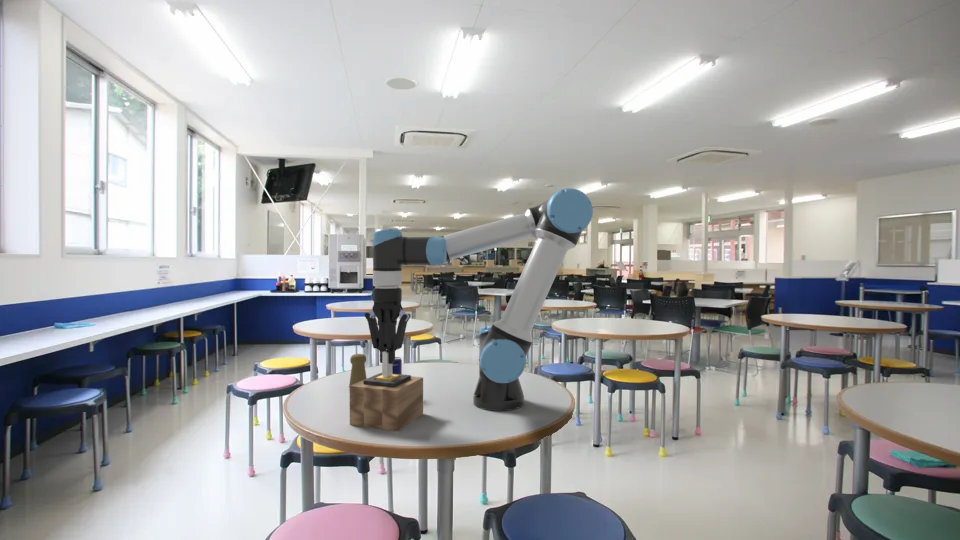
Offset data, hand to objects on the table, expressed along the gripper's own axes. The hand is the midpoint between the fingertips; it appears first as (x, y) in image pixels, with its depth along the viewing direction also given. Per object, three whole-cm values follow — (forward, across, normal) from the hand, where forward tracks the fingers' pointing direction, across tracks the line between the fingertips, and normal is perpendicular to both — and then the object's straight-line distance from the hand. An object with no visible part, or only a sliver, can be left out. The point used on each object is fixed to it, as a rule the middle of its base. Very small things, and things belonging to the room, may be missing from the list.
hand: (387, 375), depth 118 cm
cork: (+12, +26, -24) cm, 37 cm away
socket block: (+12, 0, 0) cm, 12 cm away
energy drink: (+12, +9, -18) cm, 23 cm away
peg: (+9, 0, 0) cm, 9 cm away
